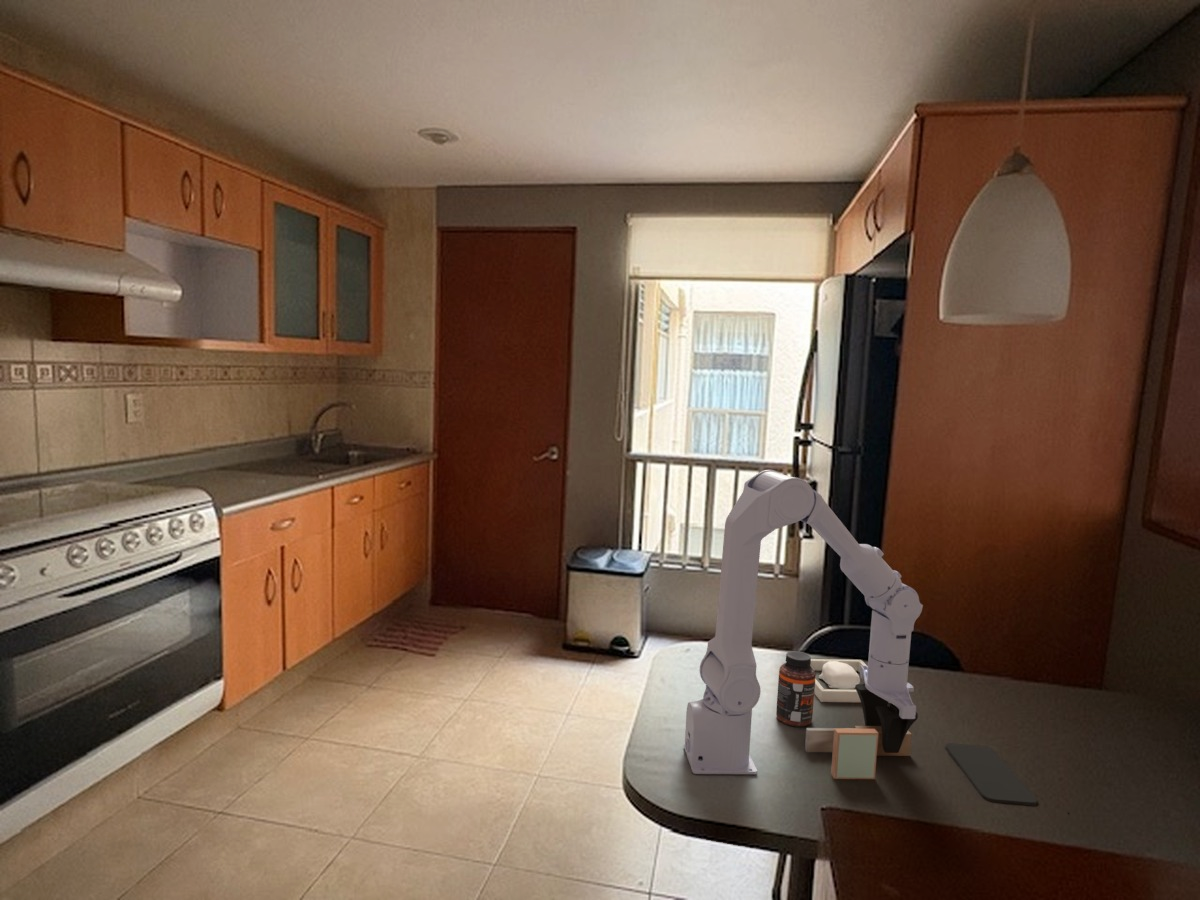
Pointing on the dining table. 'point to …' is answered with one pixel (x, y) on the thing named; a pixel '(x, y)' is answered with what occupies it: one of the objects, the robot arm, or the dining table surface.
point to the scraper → (825, 736)
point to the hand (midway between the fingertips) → (881, 741)
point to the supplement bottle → (796, 690)
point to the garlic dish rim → (835, 694)
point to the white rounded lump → (839, 675)
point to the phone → (990, 774)
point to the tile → (854, 753)
